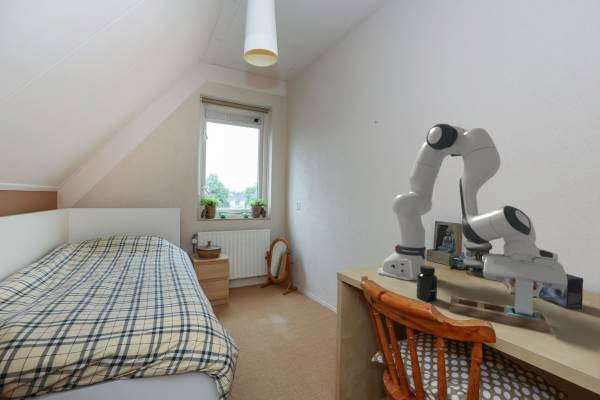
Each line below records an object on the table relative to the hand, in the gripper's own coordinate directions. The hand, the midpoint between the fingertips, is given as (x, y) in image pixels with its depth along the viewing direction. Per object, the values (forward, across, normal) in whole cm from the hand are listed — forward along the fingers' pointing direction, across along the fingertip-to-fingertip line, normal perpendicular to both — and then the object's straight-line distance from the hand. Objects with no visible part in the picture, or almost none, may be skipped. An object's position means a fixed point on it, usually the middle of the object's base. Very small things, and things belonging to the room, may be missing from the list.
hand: (523, 295), depth 83 cm
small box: (-14, +13, +26) cm, 33 cm away
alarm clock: (-26, +6, +38) cm, 46 cm away
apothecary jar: (-32, -12, +45) cm, 57 cm away
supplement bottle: (+3, -27, +10) cm, 29 cm away
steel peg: (+3, 0, +4) cm, 5 cm away
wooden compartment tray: (+6, -7, +6) cm, 11 cm away
